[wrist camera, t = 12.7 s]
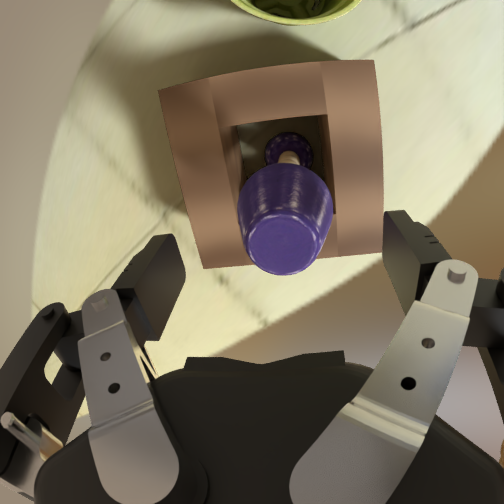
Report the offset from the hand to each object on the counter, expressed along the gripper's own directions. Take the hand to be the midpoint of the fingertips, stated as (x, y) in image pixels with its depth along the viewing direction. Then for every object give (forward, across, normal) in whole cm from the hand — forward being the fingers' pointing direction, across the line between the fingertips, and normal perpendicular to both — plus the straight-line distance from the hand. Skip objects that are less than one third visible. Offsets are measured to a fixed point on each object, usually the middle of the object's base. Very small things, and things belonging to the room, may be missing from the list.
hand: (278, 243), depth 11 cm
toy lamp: (+17, 0, 0) cm, 17 cm away
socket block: (+17, 0, 0) cm, 17 cm away
